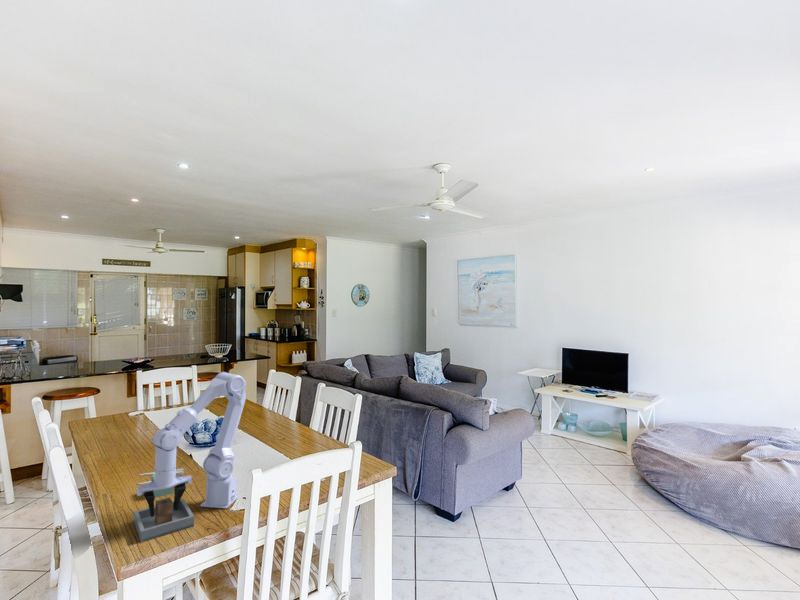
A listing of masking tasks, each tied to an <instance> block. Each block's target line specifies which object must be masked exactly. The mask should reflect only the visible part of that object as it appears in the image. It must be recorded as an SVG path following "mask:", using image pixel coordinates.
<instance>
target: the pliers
mask: <svg viewBox="0 0 800 600" xmlns="http://www.w3.org/2000/svg"><path fill="white" fill-rule="evenodd" d="M154 474H155V471H153V472H146V473H141V474H139V477H142V476H151V475H154ZM183 475H184V468H179V469H177V468H176V477H179V476H183ZM150 483H151V480H149V481H143V482H141V483H140V482H139V483H137V486H144V485H147V484H150Z"/></svg>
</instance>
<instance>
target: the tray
mask: <svg viewBox="0 0 800 600" xmlns="http://www.w3.org/2000/svg"><path fill="white" fill-rule="evenodd" d="M172 502H173V509H172V521H171V522H167V523H164V524H160V525H157V524H156V522H155V505H154V516H153V517H151V515H150V509H149V507H146V508H143V509H139V510H135V511H133V523H134V524H133V525H134V527H135V529H136V530H135V531H136V532H137V535H138V536H137V537H138V539H139V542H140V543H143V542H145V541H150V540H152V539H156V538H159V537H164V536H166V535H168V534H173V533H176V532H180V531H183V530H186V529H189V528H192V527H194V526H195V515H194V513H193V512H192V510H191V509H190V507H189V506H188V503H187V502H186V500H185V499H184V498H181V499H180V502H179V505H178V510H175V509H174V500H172Z"/></svg>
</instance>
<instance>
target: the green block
mask: <svg viewBox="0 0 800 600" xmlns="http://www.w3.org/2000/svg"><path fill="white" fill-rule="evenodd" d="M150 476H151V477H150V478H151V479H150V481H151V483H152V482H154V479H155V474H154V475H150ZM153 493H154V496H155V499H157V498H159V497H163V496H166V495H173V494H174V487H170V488H166V489H162V490H158V491H153Z"/></svg>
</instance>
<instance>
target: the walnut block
mask: <svg viewBox="0 0 800 600" xmlns="http://www.w3.org/2000/svg"><path fill="white" fill-rule="evenodd" d="M154 506H155V522H156V524H157V525H160V524H164V523H167V522H171V521H172V509H173V500H172V498H171V497H166V498H163V499H158V500H155V502H154Z"/></svg>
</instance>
